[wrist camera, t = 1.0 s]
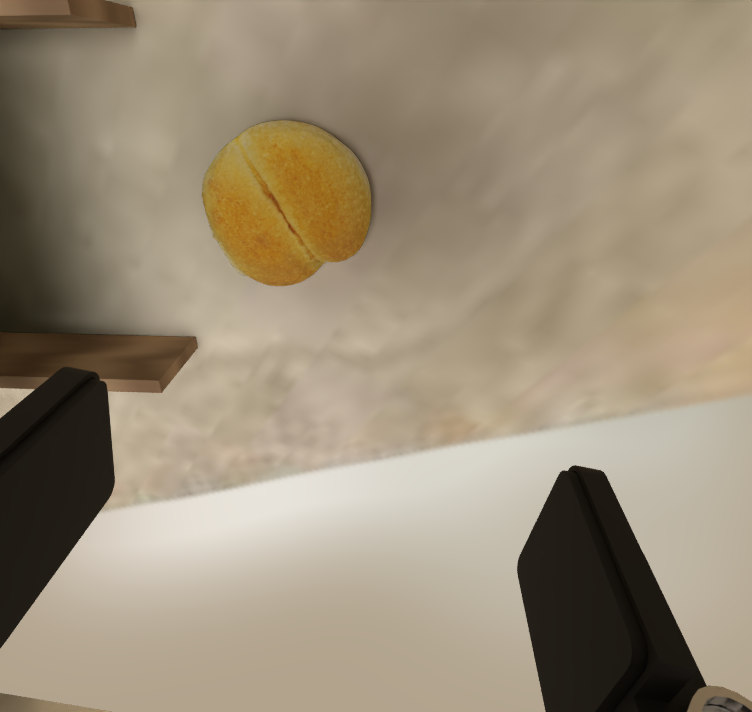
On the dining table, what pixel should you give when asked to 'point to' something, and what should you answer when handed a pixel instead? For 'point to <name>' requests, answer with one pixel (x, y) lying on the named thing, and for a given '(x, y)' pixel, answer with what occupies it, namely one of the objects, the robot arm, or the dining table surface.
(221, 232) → the bread roll
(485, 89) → the dining table surface
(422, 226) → the dining table surface
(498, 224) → the dining table surface
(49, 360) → the brown wooden box
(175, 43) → the dining table surface
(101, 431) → the robot arm
